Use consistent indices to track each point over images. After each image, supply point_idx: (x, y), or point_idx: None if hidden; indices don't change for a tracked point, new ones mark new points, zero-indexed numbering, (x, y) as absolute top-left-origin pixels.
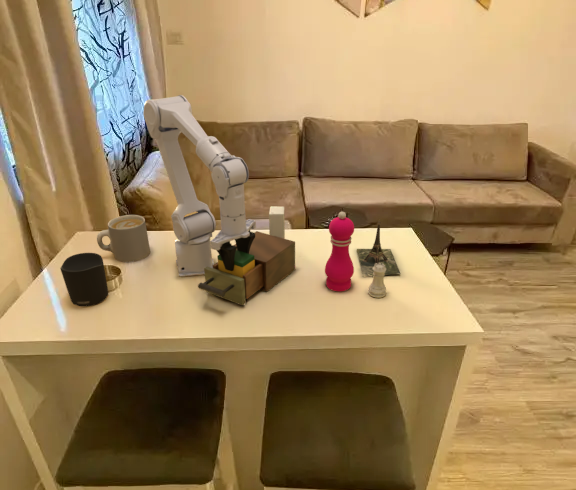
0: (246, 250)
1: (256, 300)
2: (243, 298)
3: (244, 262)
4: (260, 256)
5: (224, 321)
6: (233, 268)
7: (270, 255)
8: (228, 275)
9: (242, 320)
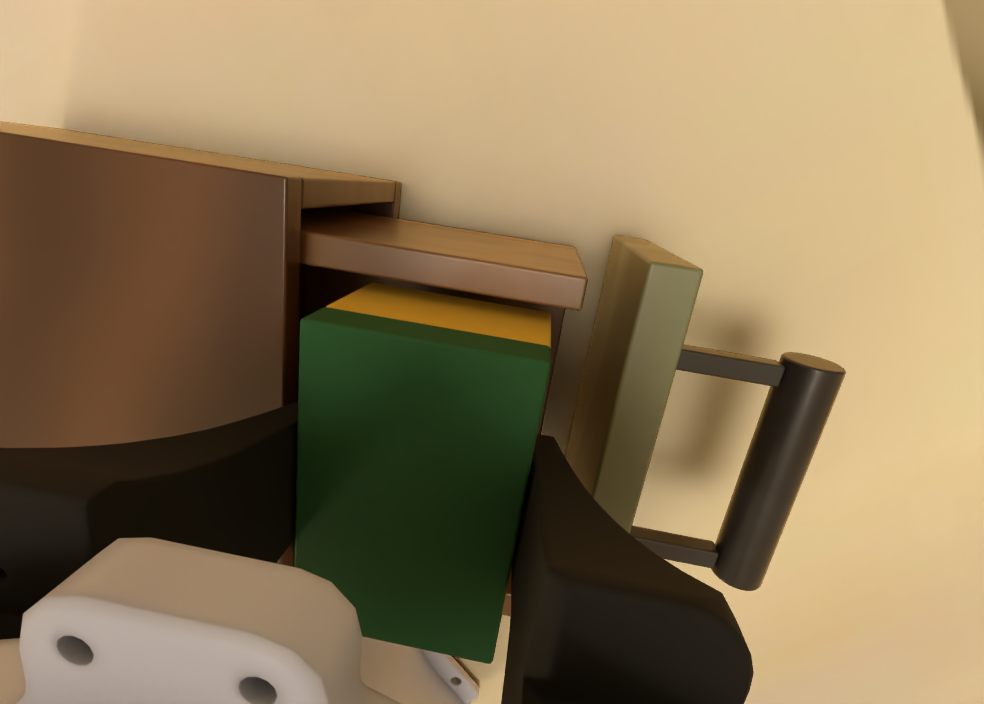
0: (273, 446)
1: (521, 199)
2: (644, 243)
3: (505, 353)
4: (209, 295)
5: (822, 277)
6: (538, 438)
7: (130, 203)
8: (642, 431)
9: (780, 170)
